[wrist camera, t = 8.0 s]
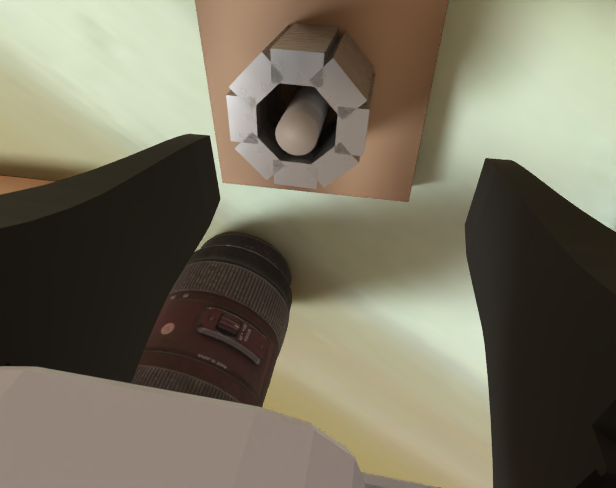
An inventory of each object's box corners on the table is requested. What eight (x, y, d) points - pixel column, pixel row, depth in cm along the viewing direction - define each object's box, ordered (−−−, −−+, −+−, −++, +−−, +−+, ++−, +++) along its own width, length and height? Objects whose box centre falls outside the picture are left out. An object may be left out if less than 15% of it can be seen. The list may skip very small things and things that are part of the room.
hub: (381, 29, 16) (376, 57, 13) (365, 149, 19) (357, 194, 16) (254, 19, 16) (221, 44, 13) (260, 137, 20) (234, 178, 17)
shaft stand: (451, -38, 15) (468, -18, 11) (408, 186, 22) (409, 252, 18) (203, -44, 17) (137, -28, 13) (231, 169, 23) (194, 226, 19)
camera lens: (169, 227, 27) (1, 462, 16) (283, 219, 25) (180, 488, 13) (213, 307, 32) (109, 530, 21) (311, 307, 29) (253, 557, 18)
